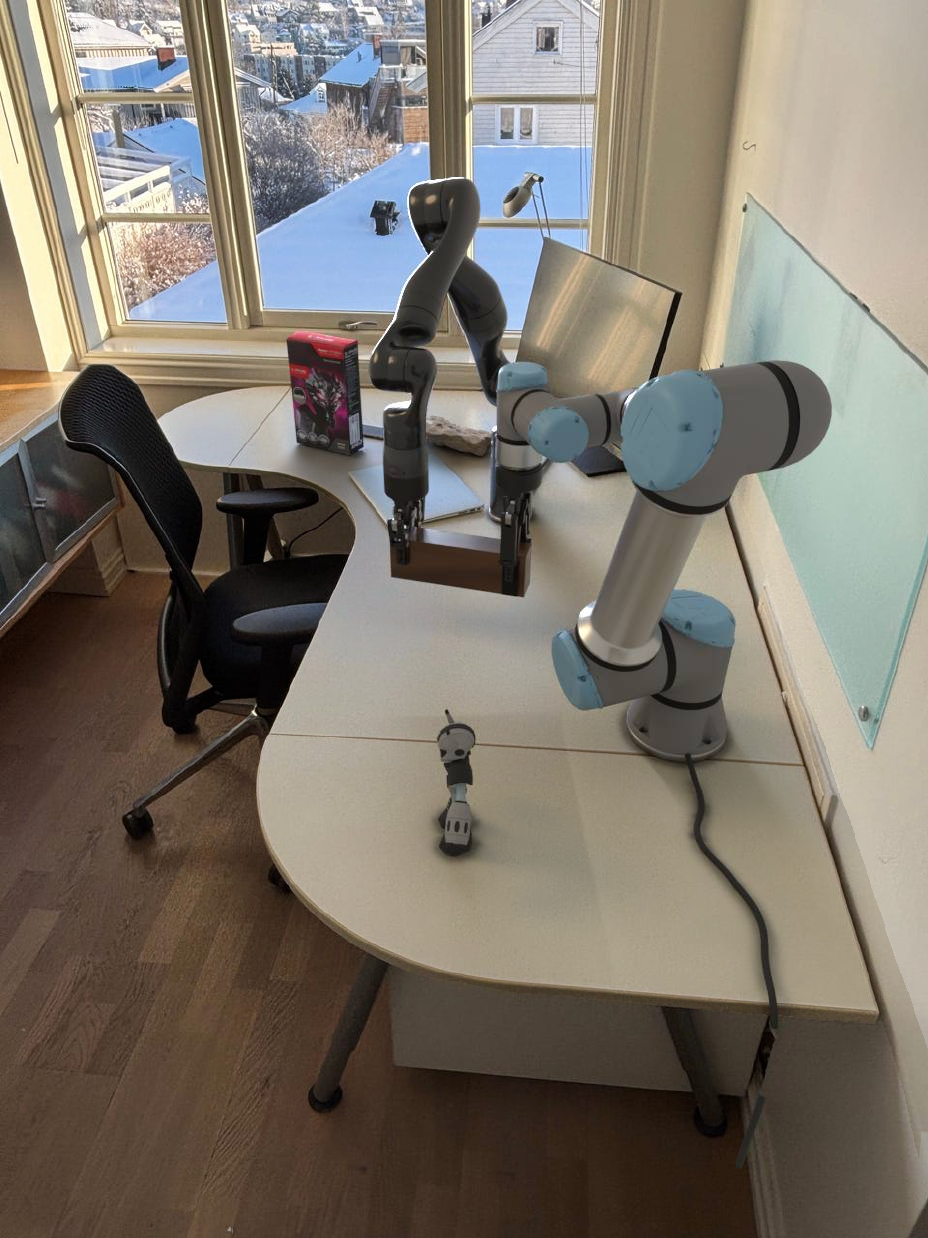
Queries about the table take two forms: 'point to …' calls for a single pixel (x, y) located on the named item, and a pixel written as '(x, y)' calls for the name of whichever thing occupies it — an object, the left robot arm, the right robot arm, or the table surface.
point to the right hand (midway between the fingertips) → (513, 585)
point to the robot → (456, 785)
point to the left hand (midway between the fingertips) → (408, 555)
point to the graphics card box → (326, 391)
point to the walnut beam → (459, 561)
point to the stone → (457, 436)
